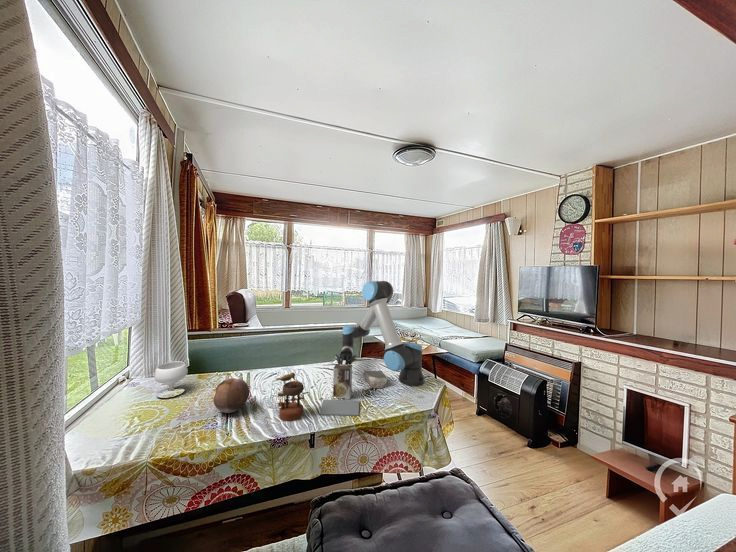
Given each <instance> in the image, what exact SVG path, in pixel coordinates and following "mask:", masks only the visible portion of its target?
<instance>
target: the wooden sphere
mask: <svg viewBox="0 0 736 552" xmlns="http://www.w3.org/2000/svg"><path fill="white" fill-rule="evenodd" d="M249 396H250V388H249V386H248V383H247V382H246V381H245V380H243V379H242V378H240V377H229V378H226V379H224V380H222V381H221V382H220V383H218V384H217V386H216V388H215V389H214V391H213V395H212V401H213V405H214V407H215V408H216V409H217V410H218V411H219V412H221V413H225V414H230V413H235V412H237V411H239V410H241V409H242V408H243V407H244V406H245V405H246V404H247V402H248V400H249Z"/></svg>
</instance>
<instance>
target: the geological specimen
mask: <svg viewBox="0 0 736 552" xmlns="http://www.w3.org/2000/svg"><path fill="white" fill-rule="evenodd" d="M363 376H364V377H363V378H364V379H365V380H366V381H365V380H364V379H363V380H364V381H365V383H366V382H367V383H368V384H369V386H370V387H369V386H368V387H369V389H370V388H377V389H383V388H388V377H387V376H386V374H385V373H384V372H383V371H382V370H365V371H364V375H363ZM367 383H366V384H367ZM368 384H367V385H368Z"/></svg>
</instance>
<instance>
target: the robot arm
mask: <svg viewBox="0 0 736 552" xmlns="http://www.w3.org/2000/svg"><path fill="white" fill-rule="evenodd" d="M393 295H394V288H393V285H392V284H391V282H388V281H386V280H371V281H367V282H365V283H364V284H363V286H362V289H361V296H362V298H363V299H364V300H365V301H367V302H368V304H369V308H368V310H367V312H366V314H365V315H364V317H363V318H362V320H361V322H360V323H359V324H358V326H353V325H352V324H350V325H349V324H348V325H347V324H346V325H343V327H342V340H341V341H342V342H341V343H342V345H341V346H342V348H341V351H340V354H335V360H336V361H337V364H349V365H353V364H352V363H354V361H356V360H357V355H355V354H354V355H353V352H354V346H355V345H354V339H359V338H364V337H367V336H369V335H370V331H371V330H370V329H371V327H372V325H374V323H375V321H377V323H378V326H379V329H380V332H381V335H382V338H383V341H384V344H385V347H384V352H385V353H384V355H383V362H384V365H385V366H386V368H387V369H388V370H390V371H392V372H400V373H399V374H398V381H399V383H401V384H403V385H405V386H411V387H418V386H422V385H424V383H425V377H424V373H423V370H422V363H423V362H422V360H423V345H421V344H420V343H417V342H411V341H404V342H402V341H401V339H400V337H399V335H398V331H397V329H396V326H395V323H394V320H393V317H392V314H391V312H390V309H389V306H388V304H389V303H390V301H391V299H392V298H393Z"/></svg>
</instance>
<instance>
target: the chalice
mask: <svg viewBox="0 0 736 552" xmlns="http://www.w3.org/2000/svg"><path fill="white" fill-rule="evenodd" d="M188 372H189V370H188V366H187V364H186V363H185V362H184V361H177V360H176V361H169V362H168V361H167V362H165V363H161V364H159V365H158V366H157V367H156V369H155V371H154V374H153V375H154V376H153V377H154V380H155V381H156V382H157V383H159V384H163V385H167V386H168V389H169V390H168V391H174V390H175V389H174V388H175V387H174V386H175V385H176V383H179V382H180V381H182V380H184V379H185V378H186V377H187V374H188Z"/></svg>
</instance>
